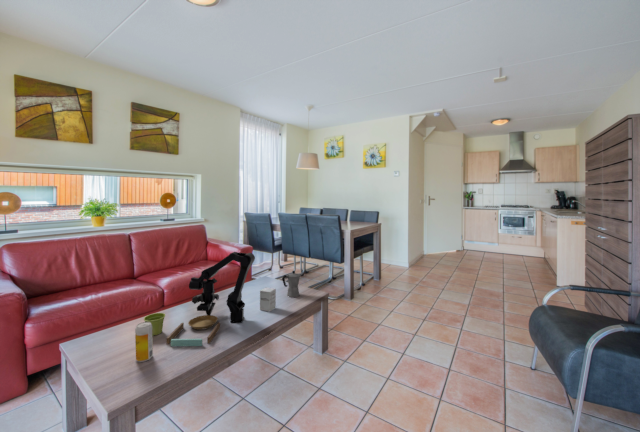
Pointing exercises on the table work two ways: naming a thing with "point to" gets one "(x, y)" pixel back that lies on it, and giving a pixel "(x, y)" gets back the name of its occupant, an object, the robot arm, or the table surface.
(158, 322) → the plant pot
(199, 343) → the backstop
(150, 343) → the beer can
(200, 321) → the plant saucer
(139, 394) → the table surface
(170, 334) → the lane walls
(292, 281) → the coffeepot
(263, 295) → the supplement box
